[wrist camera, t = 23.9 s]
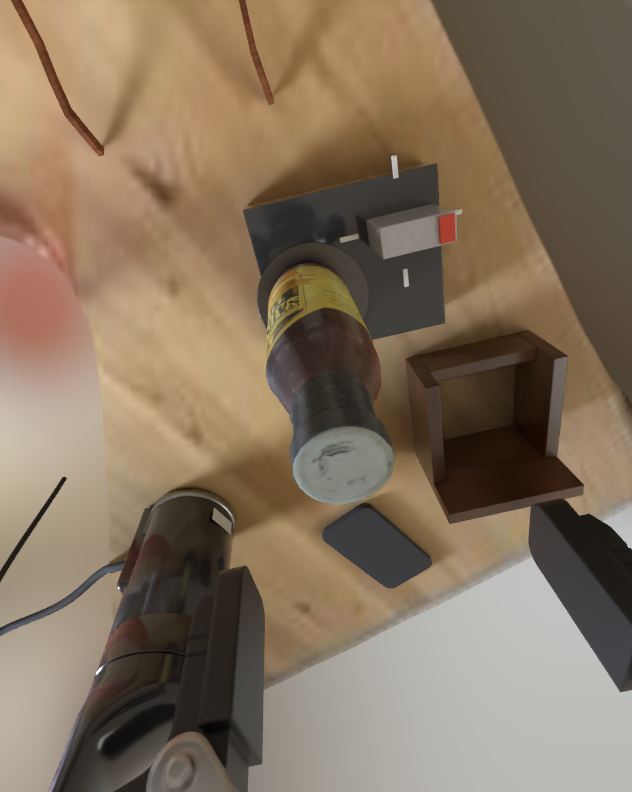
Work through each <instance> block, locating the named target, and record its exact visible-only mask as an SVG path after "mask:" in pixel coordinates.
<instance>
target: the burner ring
mask: <svg viewBox="0 0 632 792" xmlns="http://www.w3.org/2000/svg"><path fill="white" fill-rule="evenodd" d="M304 263H316V264H319V265H322V266H324V267H326V268H328V269H330V270H331V271H333V272H334V273H335V274H337V275H338V276H339V278H340V279H341V280H342V281H343V282H344V284H345V285H346V286H347V288H348V290H349V293H350V295H351V297H352V299H353V301H354V303H355V305H356V307H357V309H358V311H359V314H360V316H361V318H362V320H363V318H364V316H365V313H366V310H367V305H368V287H367V283H366V279H365V277H364V274H363V272H362V270H361V268H360V267H359V266H358V264H357V263H356V261H355V260H354V259H353V258H352V257H351V256H350V255H348V254H347V253H346V252H344V251H343V250H341V249H339V248H337V247H335V246H333V245H329V244H326V243H319V242H308V243H302V244H298V245H295V246H292V247H290V248H288V249H286V250H284V251H283V252H281V253H280V254H279V255H278V256H276V257H275V258H274V259H273V260H272V261H271V262H270V264H269V265H268V266H267V268H266V269H265V271H264V273H263V275H262V277H261V280H260V283H259V287H258V294H257V303H258V310H259V314H260V317H261V320H262V322H263V324H264V326H265V327H266V329H267V327H268V303H269V298H270V294H271V291H272V289H273V287H274V285H275V284H276V283H277V281H278V280H279V278H280V276H281V275H282V274H283V273H284V272H285V271H286V270H288V269H289V268H292V267H294V266H297V265H299V264H304Z"/></svg>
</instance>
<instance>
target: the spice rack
mask: <svg viewBox="0 0 632 792" xmlns="http://www.w3.org/2000/svg"><path fill="white" fill-rule="evenodd" d="M567 362H568V356H567V355H566V354H564V353H563V352H561V351H560V350H558V349H557V348H555V347H554V346H552V345H551V344H549V343H548V342H546V341H545V340H543V339H542V338H540V337H538V336H537V335H535V334H534V333H532V332H531V331H525V332H521V333H517V334H512V335H508V336H503V337H499V338H495V339H490V340H486V341H481V342H477V343H473V344H468V345H464V346H460V347H455V348H451V349H446V350H442V351H438V352H433V353H429V354H425V355H420V356H415V357H411V358H407V359H406V366H407V376H408V385H409V394H410V403H411V412H412V422H413V431H414V440H415V449H416V456H417V458H418V460H419V462H420V464H421V466H422V468H423V470H424V472H425V474H426V476H427V478H428V481H429V483H430V485H431V487H432V489H433V491H434V493H435V495H436V497H437V499H438V501H439V503H440V505H441V507H442V509H443V511H444V513H445V515H446V517H447V520H448V522H449V524H452V523H457V522H461V521H466V520H470V519H475V518H480V517H484V516H489V515H493V514H498V513H503V512H507V511H512V510H516V509H521V508H525V507H530V506H532V505H533V504H536V503H541V502H545V501H550V500H555V499H559V498H561V499H567V498H571V497H576V496H580V495H583V490H584V484H583V483H582V482H581V481H580V480H579V479H578V478H577V477H576V476H575V475H574V474H573V473H572V472H571V471H570V470H569V469H568V468H567V467H566V466H565V465H564V464H563V463H562V462H561V461H560V460H559V458H558V457H557V452H558V443H559V434H560V425H561V416H562V407H563V398H564V389H565V380H566V371H567ZM513 364H516V377H515V401H514V425H511V426H507V427H502V428H498V429H494V430H489V431H485V432H480V433H476V434H471V435H467V436H462V437H458V438H453V439H449V440H444V441H443V431H442V416H441V401H440V385H439V384H438V383H437V382H438V381H442V380H447V379H451V378H456V377H460V376H464V375H469V374H473V373H478V372H482V371H486V370H491V369H495V368H500V367H504V366H508V365H513Z"/></svg>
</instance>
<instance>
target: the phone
mask: <svg viewBox="0 0 632 792" xmlns="http://www.w3.org/2000/svg"><path fill="white" fill-rule="evenodd" d="M322 536H323V540H324V541H325V542H326V543H327V544H329V545H330V546H331V547H333V548H334V549H335V550H337V551H338V552H339V553H341V554H342V555H343V556H345V557H346V558H347V559H349V560H350V561H351V562H353V563H354V564H355V565H357V566H358V567H359V568H361V569H362V570H363V571H365V572H366V573H367V574H369V575H370V576H371V577H373V578H374V579H375V580H377V581H378V582H379V583H381V584H382V585H383V586H385V587H387V588H395V587H397V586H399V585H401V584H402V583H404V582H406V581H407V580H409V579H411V578H413V577H414V576H416V575H418V574H419V573H421V572H423V571H424V570H426V569H428V568H429V567H430V566H431V565H432V561H431V558H430V556H429V555H428V554H426V553H425V552H424V551H423V550H422V549H421V548H420V547H419V546H417V545H416V544H415V543H414V542H413V541H412V540H411V539H409V538H408V537H407V536H406V535H405V534H404V533H403V532H401V531H400V530H399V529H398V528H397V527H396V526H395V525H393V524H392V523H391V522H390V521H389V520H388V519H387V518H386V517H384V516H383V515H382V514H381V513H380V512H379V511H378V510H376V509H375V508H374V507H373V506H371V505H369V504H362V505H359V506H358V507H356V508H355V509H353V510H352V511H350V512H349V513H347V514H346V515H344V516H343V517H341V518H340V519H338V520H337V521H335V522H334V523H332V524H331V525H329V526H328V527H326V528H325V529H324V530H323V532H322Z"/></svg>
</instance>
